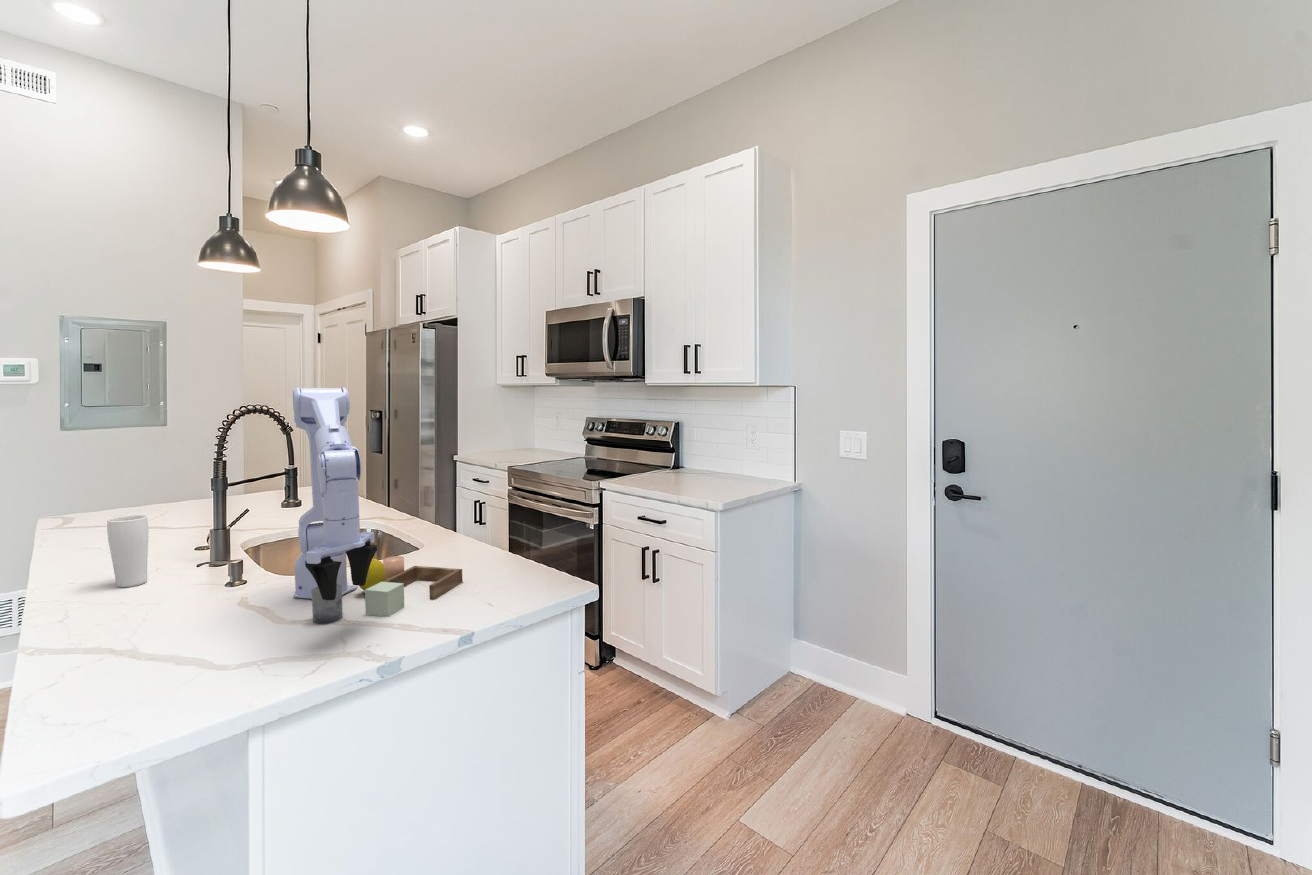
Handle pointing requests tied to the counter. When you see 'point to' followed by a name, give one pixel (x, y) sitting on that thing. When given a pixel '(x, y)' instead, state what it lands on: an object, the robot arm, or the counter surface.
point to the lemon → (374, 574)
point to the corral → (430, 578)
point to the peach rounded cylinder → (393, 566)
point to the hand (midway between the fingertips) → (344, 591)
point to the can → (326, 607)
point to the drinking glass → (129, 549)
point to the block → (384, 598)
